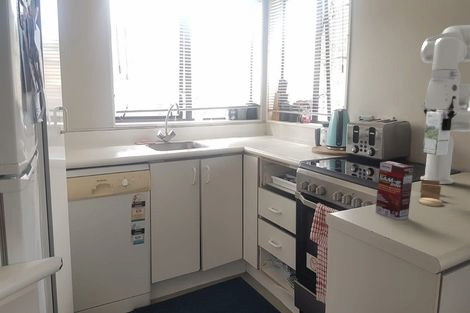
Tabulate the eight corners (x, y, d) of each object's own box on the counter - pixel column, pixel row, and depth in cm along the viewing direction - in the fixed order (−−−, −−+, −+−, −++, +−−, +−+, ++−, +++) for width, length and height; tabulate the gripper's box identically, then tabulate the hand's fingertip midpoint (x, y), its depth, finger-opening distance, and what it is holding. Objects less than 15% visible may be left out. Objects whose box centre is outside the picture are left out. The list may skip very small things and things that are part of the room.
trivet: (419, 199, 136) (419, 196, 136) (441, 202, 133) (441, 199, 133) (419, 204, 130) (419, 201, 130) (442, 207, 127) (442, 204, 127)
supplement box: (374, 212, 119) (379, 161, 117) (385, 210, 122) (389, 160, 119) (398, 220, 112) (403, 167, 109) (409, 218, 114) (414, 165, 112)
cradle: (420, 191, 148) (421, 178, 147) (437, 193, 145) (439, 180, 144) (420, 197, 139) (422, 184, 138) (439, 200, 136) (441, 186, 135)
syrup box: (447, 155, 133) (453, 112, 131) (435, 155, 130) (441, 112, 128) (433, 152, 138) (438, 111, 136) (421, 152, 135) (426, 111, 133)
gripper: (475, 75, 123) (468, 132, 126) (432, 77, 139) (426, 127, 142) (457, 74, 121) (450, 132, 124) (415, 76, 137) (410, 127, 140)
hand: (437, 129), depth 133 cm, fingers closed on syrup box, 6 cm apart
